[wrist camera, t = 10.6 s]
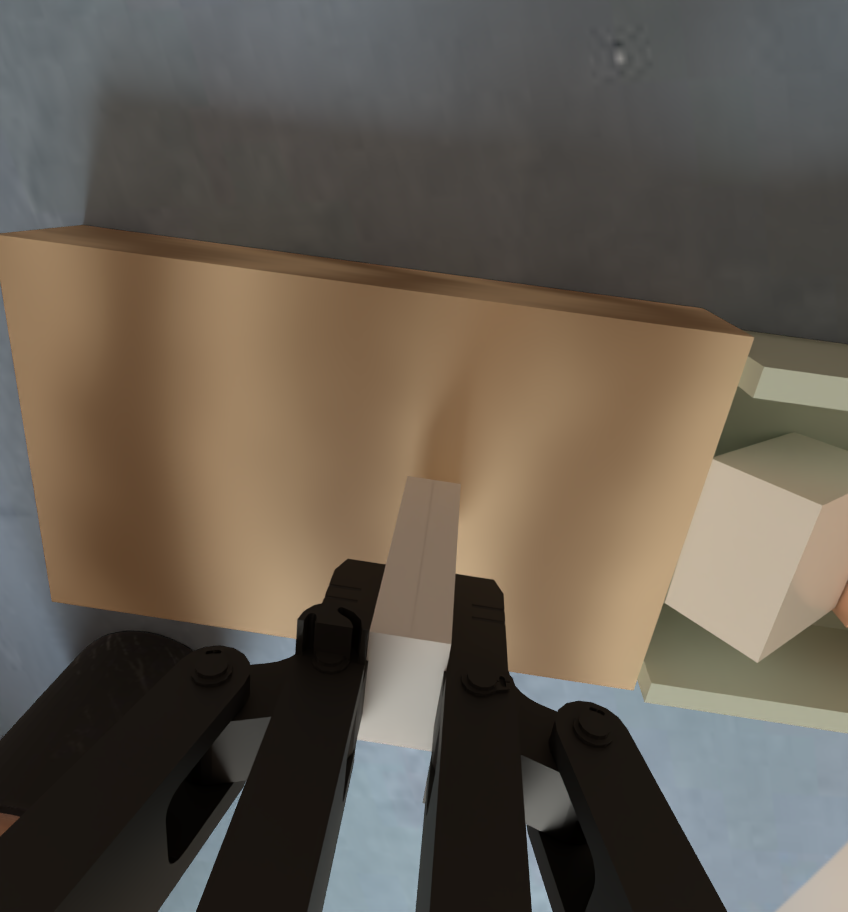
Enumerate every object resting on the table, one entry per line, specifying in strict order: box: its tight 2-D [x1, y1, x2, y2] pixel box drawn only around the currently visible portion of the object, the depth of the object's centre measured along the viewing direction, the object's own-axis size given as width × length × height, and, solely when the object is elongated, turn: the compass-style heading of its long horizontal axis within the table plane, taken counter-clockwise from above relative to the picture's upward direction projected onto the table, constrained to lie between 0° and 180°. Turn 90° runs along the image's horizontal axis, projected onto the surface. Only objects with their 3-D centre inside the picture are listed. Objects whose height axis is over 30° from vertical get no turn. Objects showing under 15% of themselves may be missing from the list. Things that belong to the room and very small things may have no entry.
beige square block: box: [665, 432, 848, 663], centre depth 19 cm, size 5×5×3 cm
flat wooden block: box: [0, 225, 754, 690], centre depth 20 cm, size 20×12×4 cm, turn 83°
